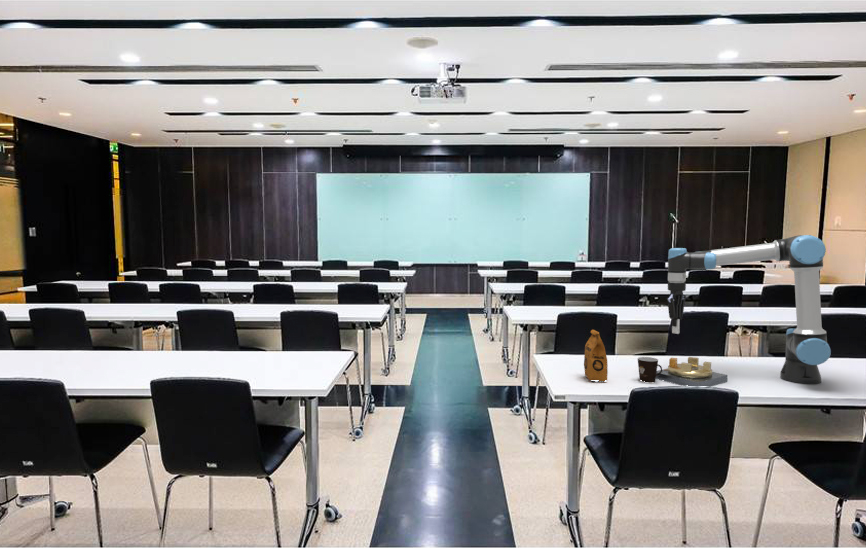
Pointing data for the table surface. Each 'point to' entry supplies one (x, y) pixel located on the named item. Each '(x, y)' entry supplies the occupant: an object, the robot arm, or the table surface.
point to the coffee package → (595, 358)
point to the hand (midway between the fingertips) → (675, 333)
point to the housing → (692, 379)
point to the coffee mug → (648, 368)
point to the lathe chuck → (690, 368)
